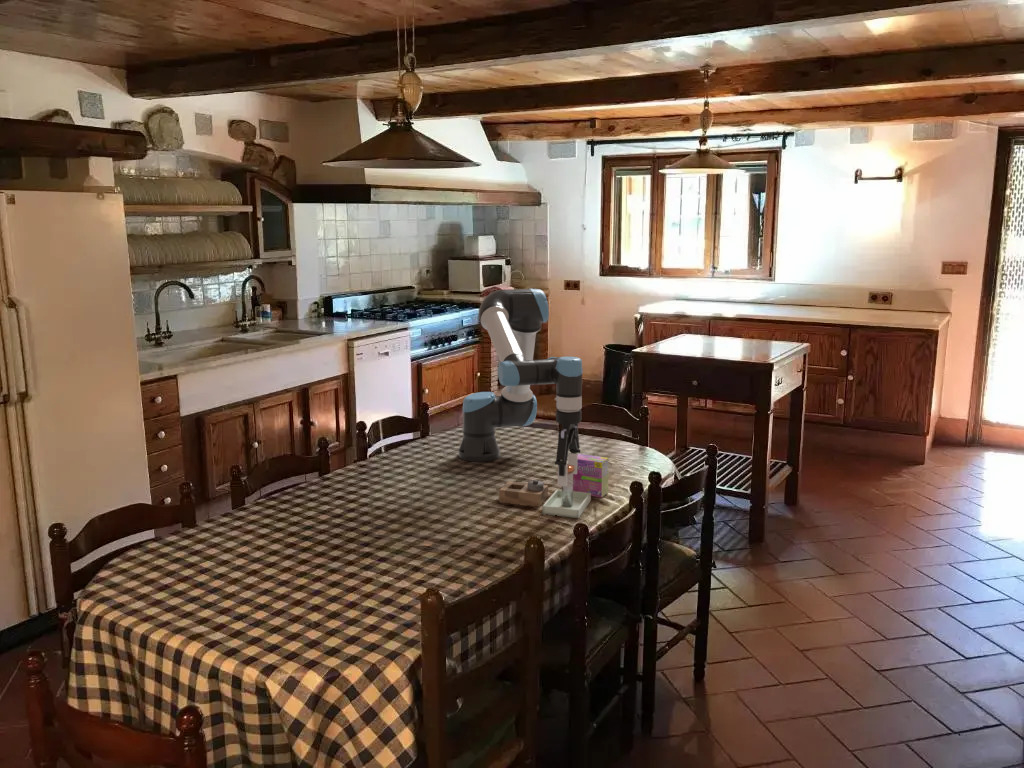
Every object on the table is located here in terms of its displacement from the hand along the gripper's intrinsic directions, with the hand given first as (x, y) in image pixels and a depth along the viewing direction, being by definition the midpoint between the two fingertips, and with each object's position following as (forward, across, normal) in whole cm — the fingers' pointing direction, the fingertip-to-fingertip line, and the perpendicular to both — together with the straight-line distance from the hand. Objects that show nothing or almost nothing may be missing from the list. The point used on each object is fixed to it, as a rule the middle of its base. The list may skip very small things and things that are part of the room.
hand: (567, 479), depth 247 cm
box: (+9, -15, +4) cm, 18 cm away
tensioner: (+9, -2, -14) cm, 17 cm away
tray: (+9, 0, 0) cm, 9 cm away
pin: (+8, 0, 0) cm, 8 cm away
